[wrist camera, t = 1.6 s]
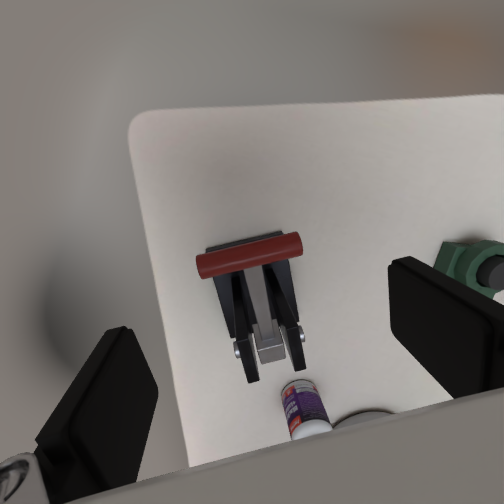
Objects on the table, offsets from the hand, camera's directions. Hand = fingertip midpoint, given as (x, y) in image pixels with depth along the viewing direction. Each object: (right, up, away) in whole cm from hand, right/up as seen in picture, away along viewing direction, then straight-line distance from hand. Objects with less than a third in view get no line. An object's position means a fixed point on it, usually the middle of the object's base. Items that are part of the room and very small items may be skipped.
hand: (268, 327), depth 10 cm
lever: (0, -1, +11) cm, 11 cm away
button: (+28, +1, +23) cm, 36 cm away
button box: (+27, -1, +27) cm, 38 cm away
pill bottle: (+6, -18, +31) cm, 37 cm away
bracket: (0, -1, +24) cm, 24 cm away
